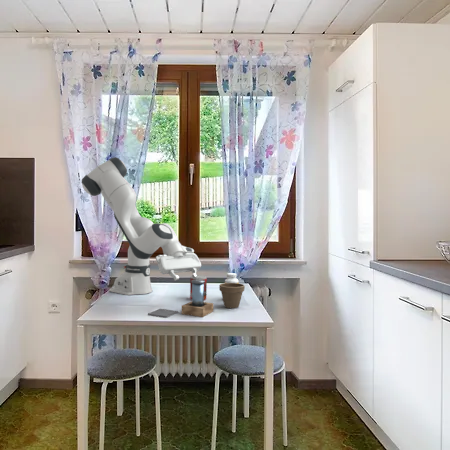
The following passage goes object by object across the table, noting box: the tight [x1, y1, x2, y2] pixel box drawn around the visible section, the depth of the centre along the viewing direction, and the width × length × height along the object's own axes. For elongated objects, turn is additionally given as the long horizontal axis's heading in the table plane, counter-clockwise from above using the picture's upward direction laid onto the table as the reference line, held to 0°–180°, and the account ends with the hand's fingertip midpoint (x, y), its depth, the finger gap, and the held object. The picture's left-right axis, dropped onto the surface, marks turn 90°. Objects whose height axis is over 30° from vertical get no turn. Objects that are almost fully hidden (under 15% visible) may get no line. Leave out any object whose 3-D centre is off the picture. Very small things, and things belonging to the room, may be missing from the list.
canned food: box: [189, 275, 208, 301], centre depth 194 cm, size 8×8×11 cm
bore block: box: [181, 300, 214, 318], centre depth 169 cm, size 10×10×4 cm
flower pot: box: [218, 282, 246, 309], centre depth 180 cm, size 12×11×10 cm
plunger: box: [191, 279, 205, 307], centre depth 169 cm, size 6×6×14 cm
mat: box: [147, 308, 179, 319], centre depth 167 cm, size 9×9×1 cm
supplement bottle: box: [224, 272, 240, 284], centre depth 193 cm, size 7×7×13 cm
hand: (186, 278), depth 173 cm, fingers open, 8 cm apart
